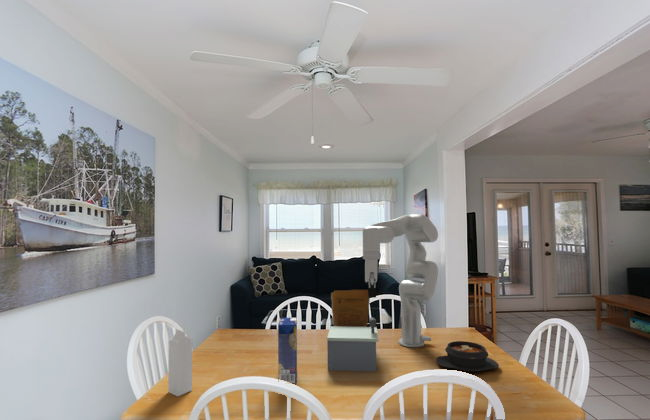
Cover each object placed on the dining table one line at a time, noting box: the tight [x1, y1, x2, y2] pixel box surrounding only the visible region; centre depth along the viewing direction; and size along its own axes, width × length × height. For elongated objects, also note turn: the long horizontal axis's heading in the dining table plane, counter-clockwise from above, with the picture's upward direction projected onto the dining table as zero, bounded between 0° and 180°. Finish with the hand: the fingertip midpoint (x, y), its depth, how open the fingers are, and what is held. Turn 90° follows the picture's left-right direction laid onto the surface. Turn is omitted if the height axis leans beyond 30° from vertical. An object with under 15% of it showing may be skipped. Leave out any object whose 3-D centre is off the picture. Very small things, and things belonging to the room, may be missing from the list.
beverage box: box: [277, 317, 298, 384], centre depth 145 cm, size 7×11×22 cm, turn 3°
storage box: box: [326, 341, 377, 373], centre depth 159 cm, size 20×16×12 cm
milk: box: [167, 329, 193, 398], centre depth 134 cm, size 6×6×22 cm
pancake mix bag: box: [330, 289, 371, 327], centre depth 181 cm, size 7×19×28 cm, turn 80°
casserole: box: [435, 340, 500, 373], centre depth 154 cm, size 25×19×8 cm
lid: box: [326, 317, 379, 343], centre depth 159 cm, size 21×17×7 cm
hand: (371, 295), depth 158 cm, fingers open, 9 cm apart
